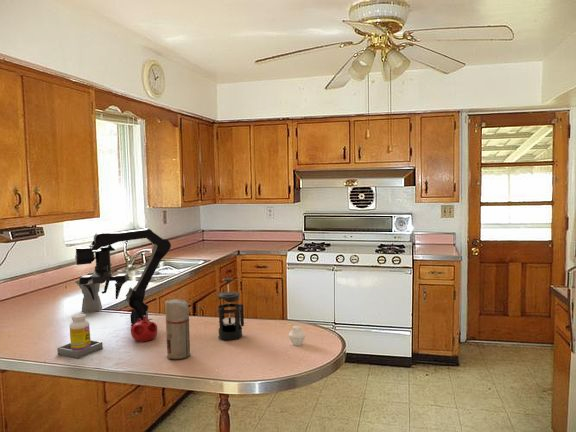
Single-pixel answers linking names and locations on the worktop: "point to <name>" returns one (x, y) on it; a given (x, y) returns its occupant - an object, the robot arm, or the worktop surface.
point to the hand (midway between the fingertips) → (105, 299)
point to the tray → (67, 351)
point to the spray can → (177, 329)
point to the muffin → (297, 335)
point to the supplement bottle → (79, 332)
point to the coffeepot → (88, 301)
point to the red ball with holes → (144, 330)
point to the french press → (232, 324)
